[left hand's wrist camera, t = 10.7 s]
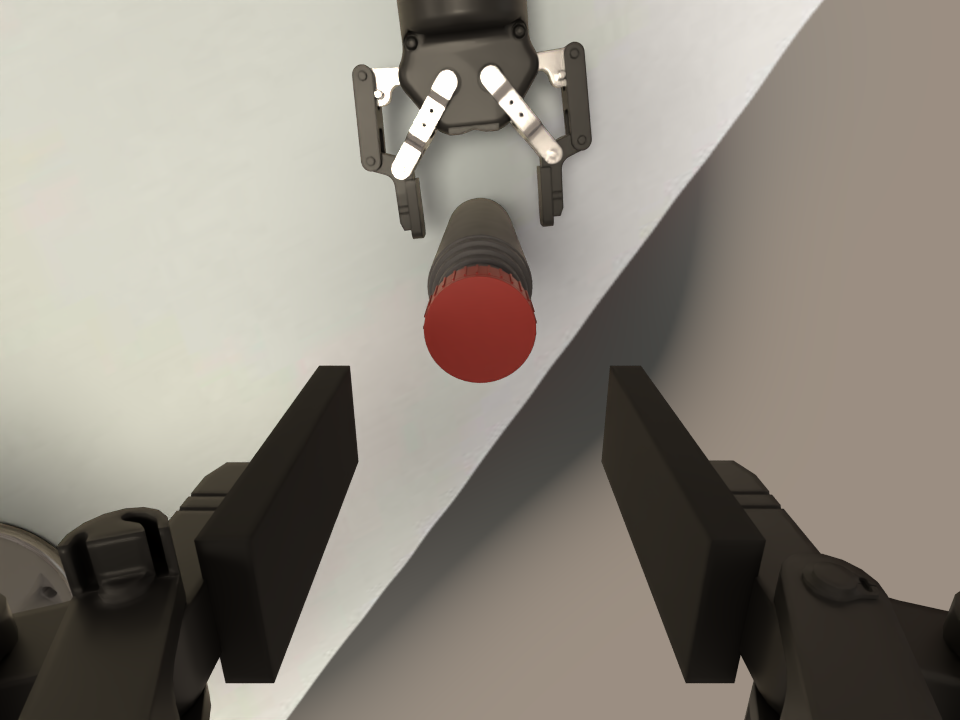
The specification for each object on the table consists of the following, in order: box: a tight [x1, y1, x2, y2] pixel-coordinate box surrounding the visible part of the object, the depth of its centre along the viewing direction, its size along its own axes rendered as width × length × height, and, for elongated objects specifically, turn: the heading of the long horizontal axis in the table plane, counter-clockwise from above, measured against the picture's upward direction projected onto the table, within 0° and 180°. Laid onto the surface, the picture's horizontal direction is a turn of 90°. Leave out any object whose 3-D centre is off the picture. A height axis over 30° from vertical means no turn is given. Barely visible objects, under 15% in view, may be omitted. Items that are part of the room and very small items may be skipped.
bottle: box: [428, 198, 532, 300], centre depth 32 cm, size 5×5×24 cm
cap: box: [423, 265, 537, 383], centre depth 22 cm, size 4×4×2 cm
